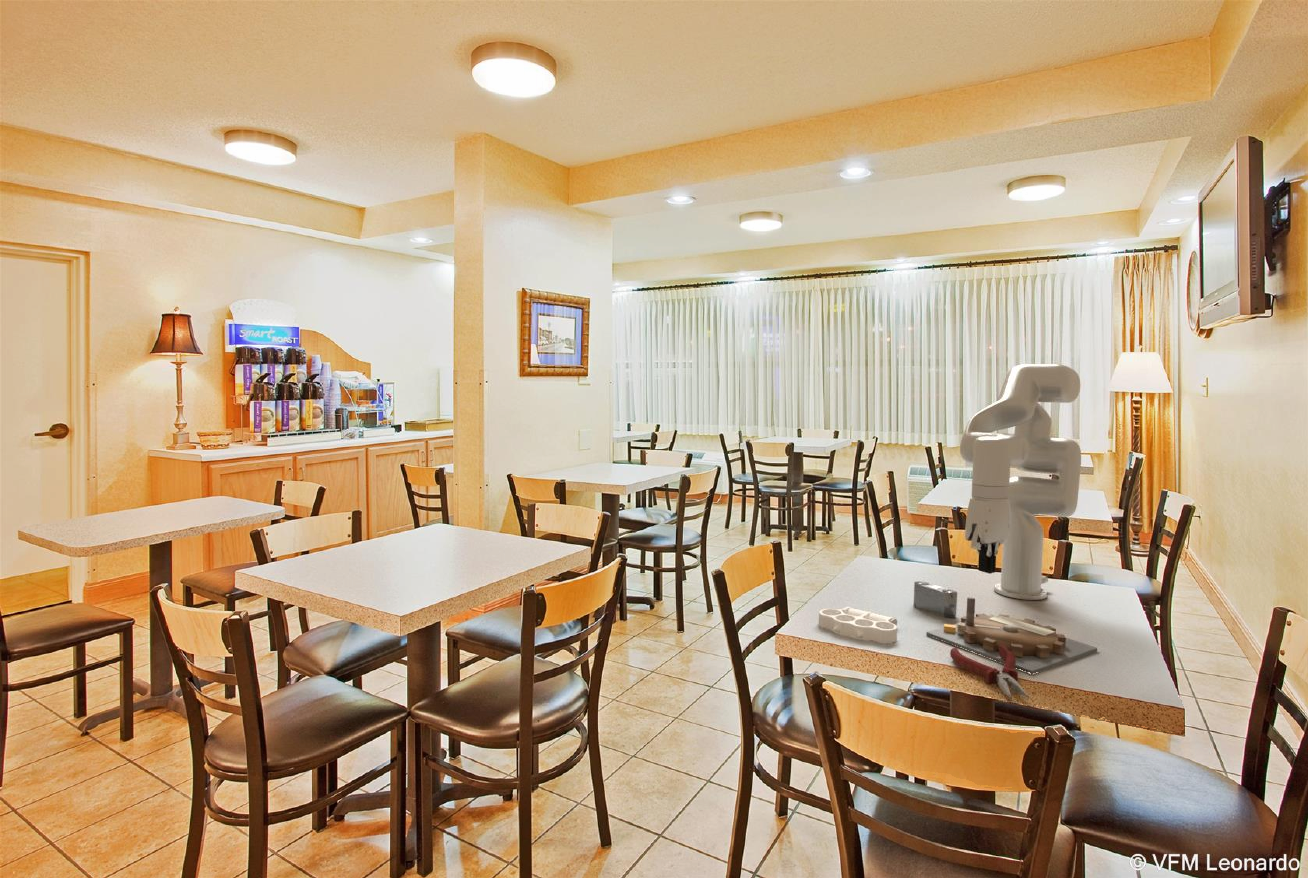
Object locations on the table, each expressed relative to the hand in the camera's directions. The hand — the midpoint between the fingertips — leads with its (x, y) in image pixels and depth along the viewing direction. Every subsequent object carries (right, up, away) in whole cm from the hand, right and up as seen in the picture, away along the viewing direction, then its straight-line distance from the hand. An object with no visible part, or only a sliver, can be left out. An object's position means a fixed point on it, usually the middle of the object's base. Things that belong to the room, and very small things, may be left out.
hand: (986, 571), depth 156 cm
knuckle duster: (-29, -14, +1) cm, 32 cm away
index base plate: (+2, -14, -6) cm, 16 cm away
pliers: (-12, -16, -24) cm, 31 cm away
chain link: (-6, -13, +14) cm, 20 cm away
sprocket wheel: (+2, -14, -6) cm, 16 cm away
